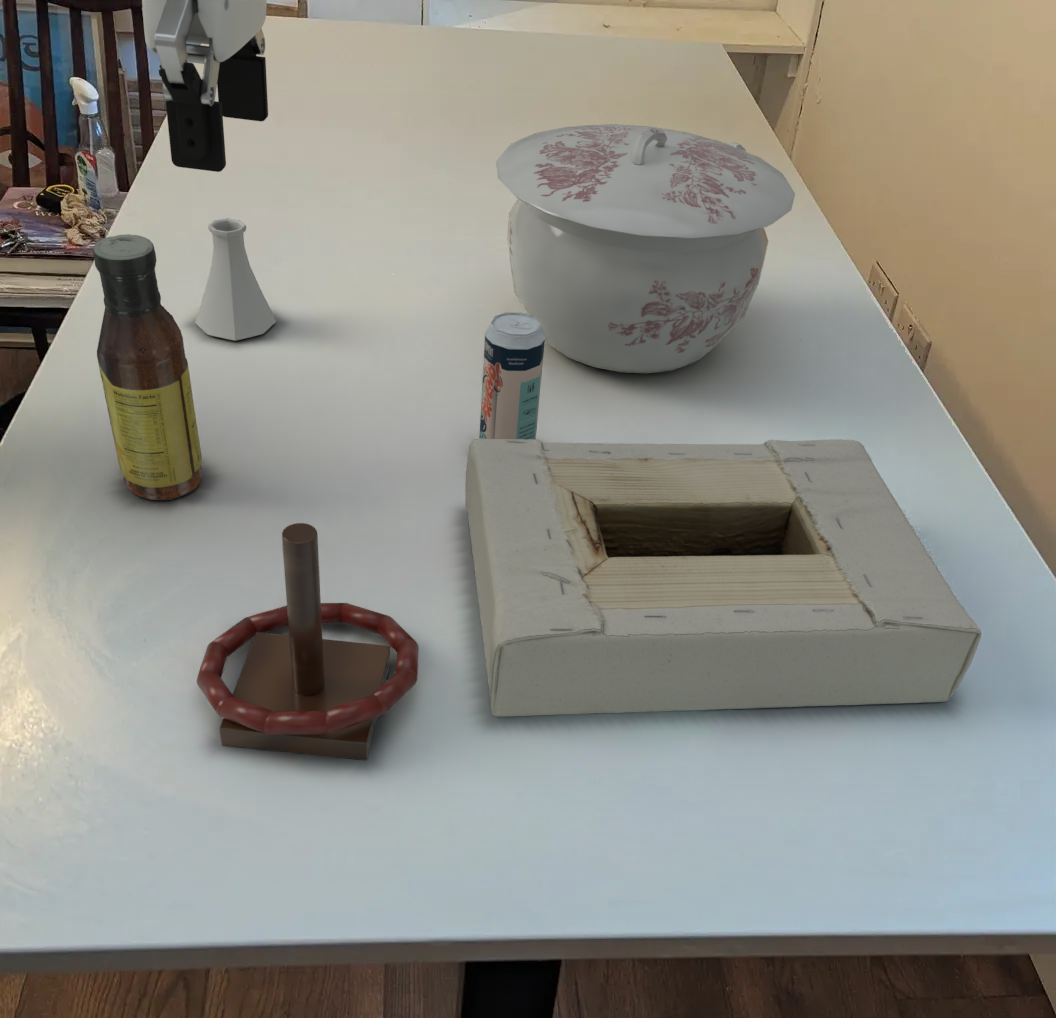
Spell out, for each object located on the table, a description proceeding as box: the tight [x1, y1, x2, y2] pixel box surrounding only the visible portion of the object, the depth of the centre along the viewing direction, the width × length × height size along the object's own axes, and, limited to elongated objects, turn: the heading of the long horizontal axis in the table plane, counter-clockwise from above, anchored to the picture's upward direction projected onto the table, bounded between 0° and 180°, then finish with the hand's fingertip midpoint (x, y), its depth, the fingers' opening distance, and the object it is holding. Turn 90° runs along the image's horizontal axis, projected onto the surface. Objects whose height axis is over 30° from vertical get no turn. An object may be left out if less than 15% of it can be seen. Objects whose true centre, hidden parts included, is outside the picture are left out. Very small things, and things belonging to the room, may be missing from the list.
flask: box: [194, 217, 277, 341], centre depth 112 cm, size 7×7×10 cm
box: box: [464, 438, 982, 717], centre depth 84 cm, size 23×8×32 cm
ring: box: [196, 602, 420, 735], centre depth 76 cm, size 14×14×1 cm
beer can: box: [478, 311, 546, 440], centre depth 97 cm, size 5×5×12 cm
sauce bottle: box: [92, 233, 203, 501], centre depth 87 cm, size 6×6×20 cm
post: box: [218, 522, 391, 761], centre depth 72 cm, size 9×9×14 cm
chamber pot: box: [495, 123, 796, 374], centre depth 112 cm, size 28×28×21 cm
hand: (222, 141), depth 76 cm, fingers open, 9 cm apart
